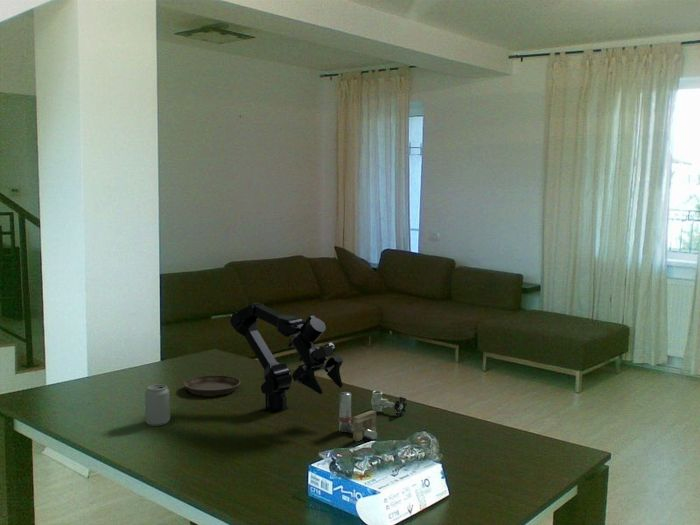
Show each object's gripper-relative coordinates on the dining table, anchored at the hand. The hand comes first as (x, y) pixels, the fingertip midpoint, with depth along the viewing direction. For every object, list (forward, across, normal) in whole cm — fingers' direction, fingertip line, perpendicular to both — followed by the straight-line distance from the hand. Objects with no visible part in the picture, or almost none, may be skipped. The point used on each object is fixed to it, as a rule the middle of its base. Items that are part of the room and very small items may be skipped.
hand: (331, 390), depth 212 cm
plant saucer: (-34, -1, +51) cm, 61 cm away
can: (-23, -35, +40) cm, 57 cm away
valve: (+12, +23, +6) cm, 26 cm away
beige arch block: (+18, 0, -1) cm, 18 cm away
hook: (+16, 0, +1) cm, 16 cm away
